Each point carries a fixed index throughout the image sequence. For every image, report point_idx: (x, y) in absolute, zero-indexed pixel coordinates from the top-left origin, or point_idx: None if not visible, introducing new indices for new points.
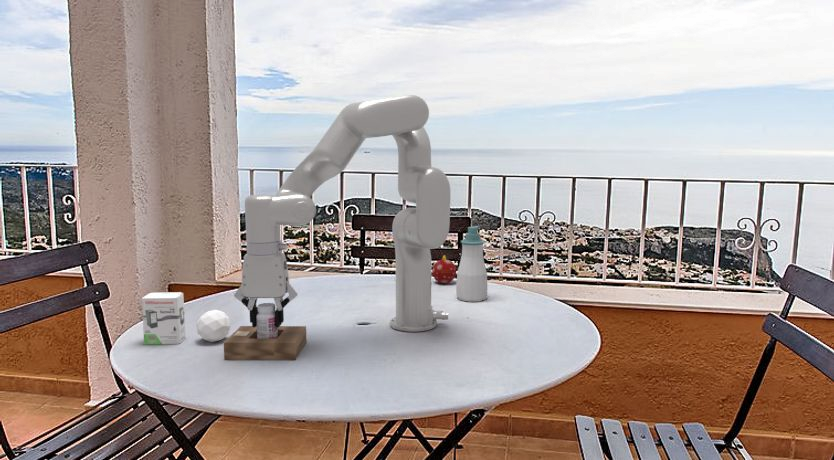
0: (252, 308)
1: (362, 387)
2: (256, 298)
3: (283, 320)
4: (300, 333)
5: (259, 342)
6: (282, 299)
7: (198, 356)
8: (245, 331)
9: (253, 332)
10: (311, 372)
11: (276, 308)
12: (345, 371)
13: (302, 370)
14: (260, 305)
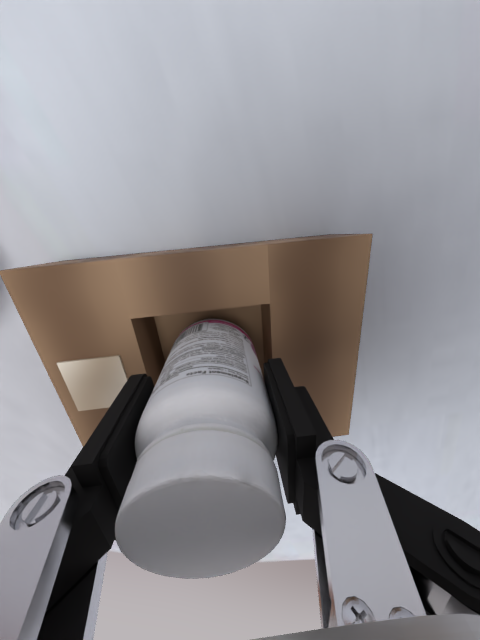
0: (104, 557)
1: (467, 482)
2: (28, 634)
3: (303, 389)
4: (356, 344)
5: None
6: (392, 560)
7: (23, 408)
8: (95, 358)
9: (139, 359)
10: (370, 446)
11: (302, 513)
12: (445, 431)
13: (349, 441)
14: (152, 553)
